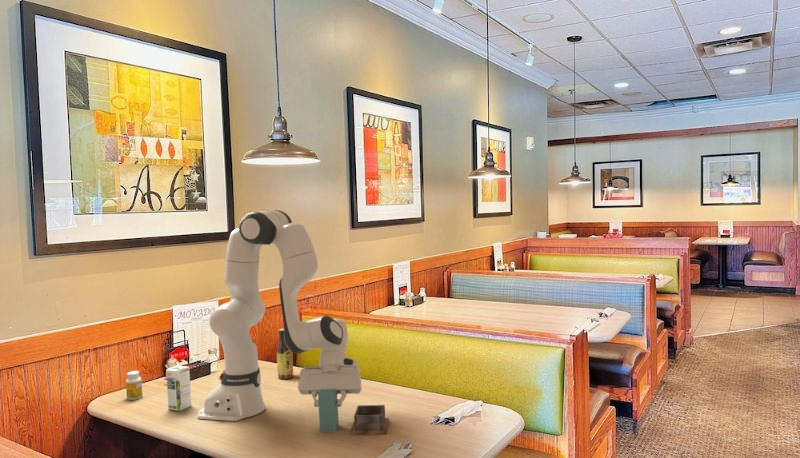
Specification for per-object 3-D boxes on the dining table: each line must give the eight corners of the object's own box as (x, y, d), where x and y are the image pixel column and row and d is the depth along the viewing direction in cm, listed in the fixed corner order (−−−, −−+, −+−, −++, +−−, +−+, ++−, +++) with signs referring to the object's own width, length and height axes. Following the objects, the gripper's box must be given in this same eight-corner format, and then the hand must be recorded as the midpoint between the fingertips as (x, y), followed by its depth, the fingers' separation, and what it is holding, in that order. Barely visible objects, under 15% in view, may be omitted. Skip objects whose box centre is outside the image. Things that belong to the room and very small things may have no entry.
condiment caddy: (350, 434, 167) (349, 417, 166) (355, 421, 177) (354, 404, 176) (386, 434, 166) (385, 416, 166) (389, 420, 176) (388, 404, 176)
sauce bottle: (289, 380, 221) (287, 331, 220) (275, 379, 222) (272, 331, 221) (296, 374, 227) (293, 327, 226) (282, 374, 229) (279, 327, 228)
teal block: (320, 431, 170) (318, 394, 169) (323, 425, 175) (321, 388, 174) (335, 431, 170) (334, 393, 169) (338, 425, 175) (336, 388, 174)
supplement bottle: (123, 399, 207) (121, 374, 206) (135, 394, 212) (133, 369, 211) (134, 400, 205) (132, 375, 204) (145, 395, 210) (144, 370, 209)
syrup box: (167, 409, 195) (164, 369, 194) (180, 403, 200) (178, 364, 199) (179, 411, 192) (176, 371, 191) (192, 405, 197) (189, 366, 197)
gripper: (299, 361, 179) (292, 402, 170) (361, 360, 177) (358, 401, 168) (303, 371, 183) (297, 410, 174) (363, 369, 182) (361, 409, 173)
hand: (327, 406), depth 171 cm, fingers open, 6 cm apart
